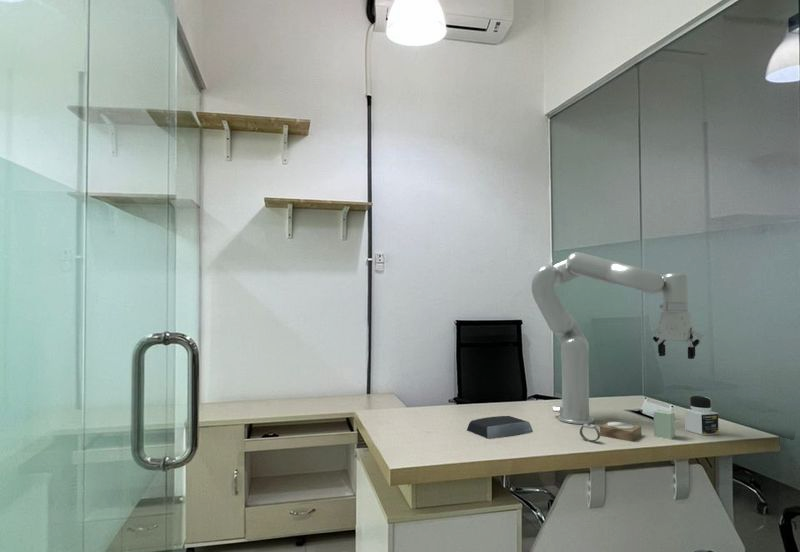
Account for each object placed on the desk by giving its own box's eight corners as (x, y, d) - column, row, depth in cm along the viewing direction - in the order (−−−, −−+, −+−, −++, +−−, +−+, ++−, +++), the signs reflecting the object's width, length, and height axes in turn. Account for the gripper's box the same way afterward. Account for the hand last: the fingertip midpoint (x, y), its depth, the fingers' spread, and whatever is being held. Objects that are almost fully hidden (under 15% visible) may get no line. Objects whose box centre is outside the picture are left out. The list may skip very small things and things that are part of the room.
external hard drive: (534, 433, 161) (534, 421, 161) (489, 440, 152) (489, 427, 152) (509, 425, 172) (509, 413, 172) (465, 431, 163) (465, 419, 163)
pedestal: (600, 435, 157) (599, 425, 158) (610, 429, 165) (610, 419, 165) (632, 441, 151) (632, 430, 151) (641, 435, 158) (641, 424, 158)
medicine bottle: (702, 435, 158) (701, 399, 159) (684, 430, 165) (683, 395, 166) (719, 434, 160) (718, 398, 161) (700, 428, 167) (699, 394, 168)
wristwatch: (601, 442, 149) (601, 426, 150) (597, 444, 147) (597, 427, 148) (582, 438, 154) (582, 422, 154) (578, 439, 152) (578, 424, 152)
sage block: (654, 436, 157) (653, 411, 157) (658, 433, 161) (657, 409, 161) (671, 439, 154) (670, 414, 154) (674, 436, 157) (674, 411, 158)
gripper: (645, 307, 172) (646, 355, 171) (696, 308, 158) (698, 360, 157) (656, 308, 176) (656, 354, 175) (707, 308, 162) (708, 359, 161)
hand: (676, 357), depth 166 cm, fingers open, 9 cm apart
